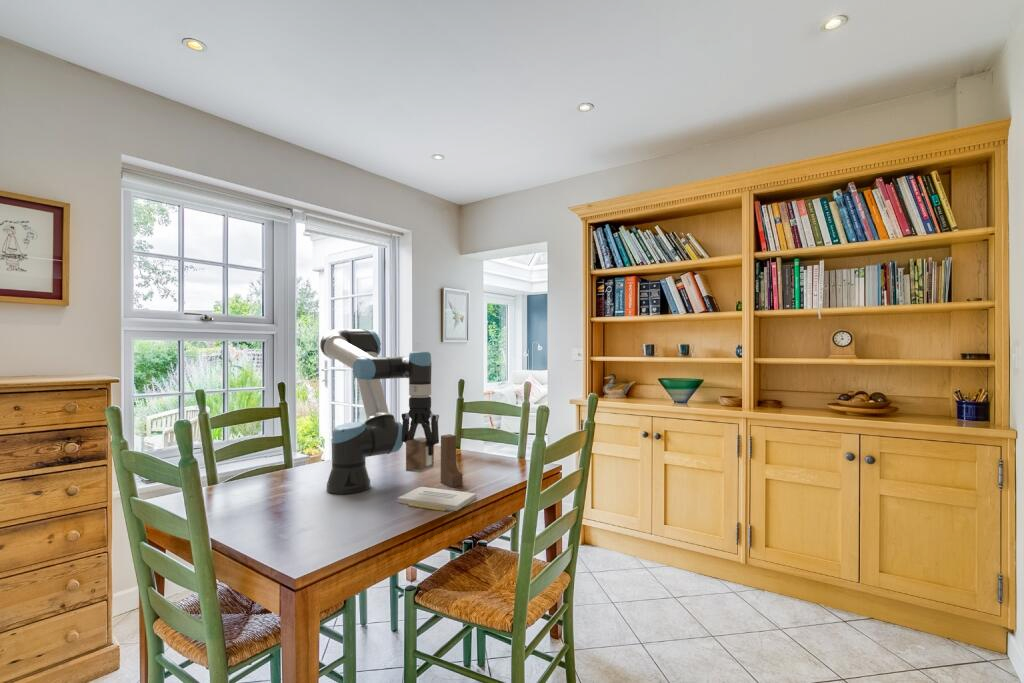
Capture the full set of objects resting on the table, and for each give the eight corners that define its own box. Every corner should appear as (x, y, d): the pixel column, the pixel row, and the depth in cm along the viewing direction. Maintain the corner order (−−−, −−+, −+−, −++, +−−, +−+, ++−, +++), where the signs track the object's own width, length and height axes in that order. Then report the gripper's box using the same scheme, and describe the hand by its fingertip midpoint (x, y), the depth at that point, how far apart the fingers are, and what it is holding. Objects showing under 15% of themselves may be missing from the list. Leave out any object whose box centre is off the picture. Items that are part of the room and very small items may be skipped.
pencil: (408, 506, 158) (408, 503, 158) (409, 505, 159) (409, 503, 159) (448, 512, 153) (448, 509, 153) (449, 511, 154) (449, 508, 154)
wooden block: (462, 485, 182) (463, 437, 182) (452, 487, 179) (452, 438, 179) (450, 480, 189) (450, 434, 189) (440, 482, 186) (440, 435, 186)
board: (397, 502, 162) (397, 497, 162) (420, 491, 175) (420, 486, 175) (456, 510, 154) (456, 505, 154) (475, 498, 167) (475, 493, 167)
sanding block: (405, 471, 165) (406, 441, 165) (418, 465, 172) (418, 437, 172) (421, 472, 162) (421, 442, 163) (433, 467, 170) (433, 438, 170)
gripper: (390, 396, 168) (390, 464, 167) (438, 398, 161) (438, 469, 160) (402, 394, 175) (402, 459, 174) (449, 396, 168) (449, 463, 167)
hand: (420, 463), depth 167 cm, fingers closed on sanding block, 6 cm apart
